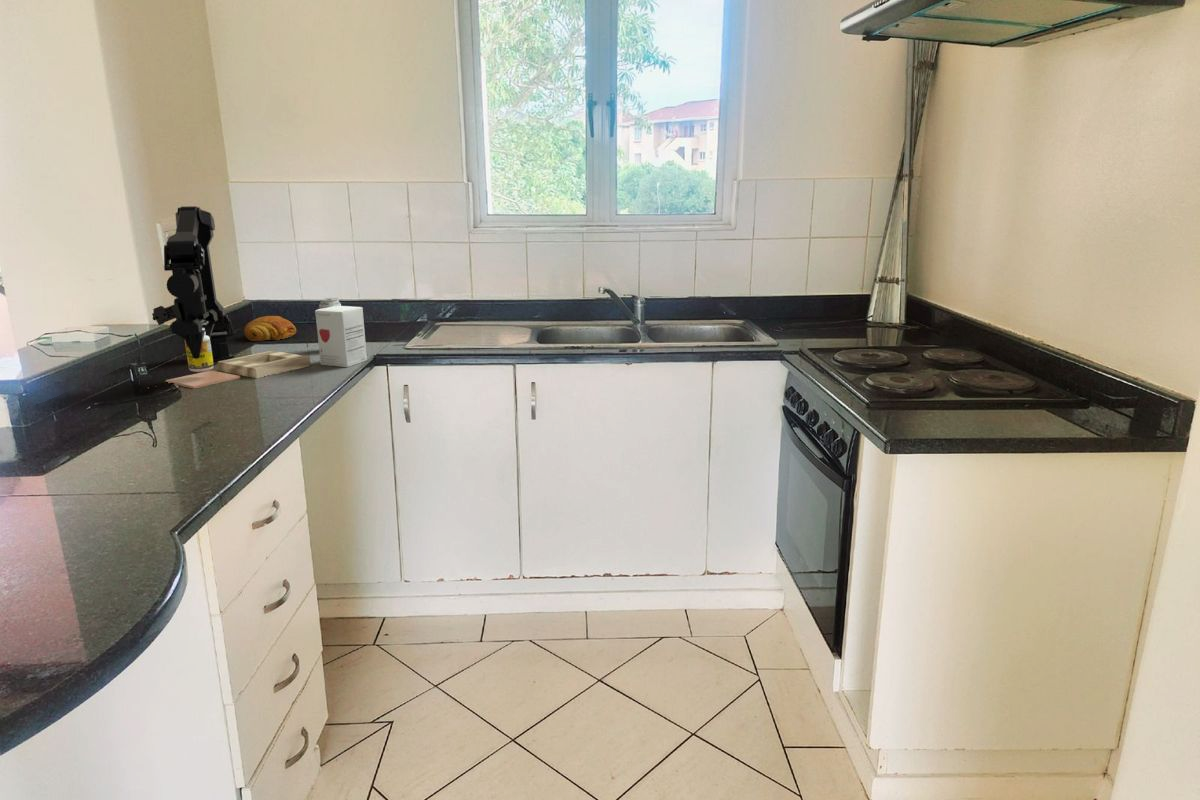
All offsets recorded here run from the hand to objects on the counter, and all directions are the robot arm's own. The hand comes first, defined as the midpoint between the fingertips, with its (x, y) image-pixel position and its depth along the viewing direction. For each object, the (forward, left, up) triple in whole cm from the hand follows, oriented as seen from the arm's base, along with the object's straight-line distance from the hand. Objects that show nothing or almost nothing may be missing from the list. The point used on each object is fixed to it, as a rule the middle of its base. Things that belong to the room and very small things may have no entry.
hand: (199, 355), depth 189 cm
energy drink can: (-1, +41, -6) cm, 41 cm away
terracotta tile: (0, 0, -6) cm, 6 cm away
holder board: (+2, +16, -6) cm, 17 cm away
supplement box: (+15, +31, -7) cm, 35 cm away
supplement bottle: (0, 0, -4) cm, 4 cm away
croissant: (-35, +44, -7) cm, 57 cm away
